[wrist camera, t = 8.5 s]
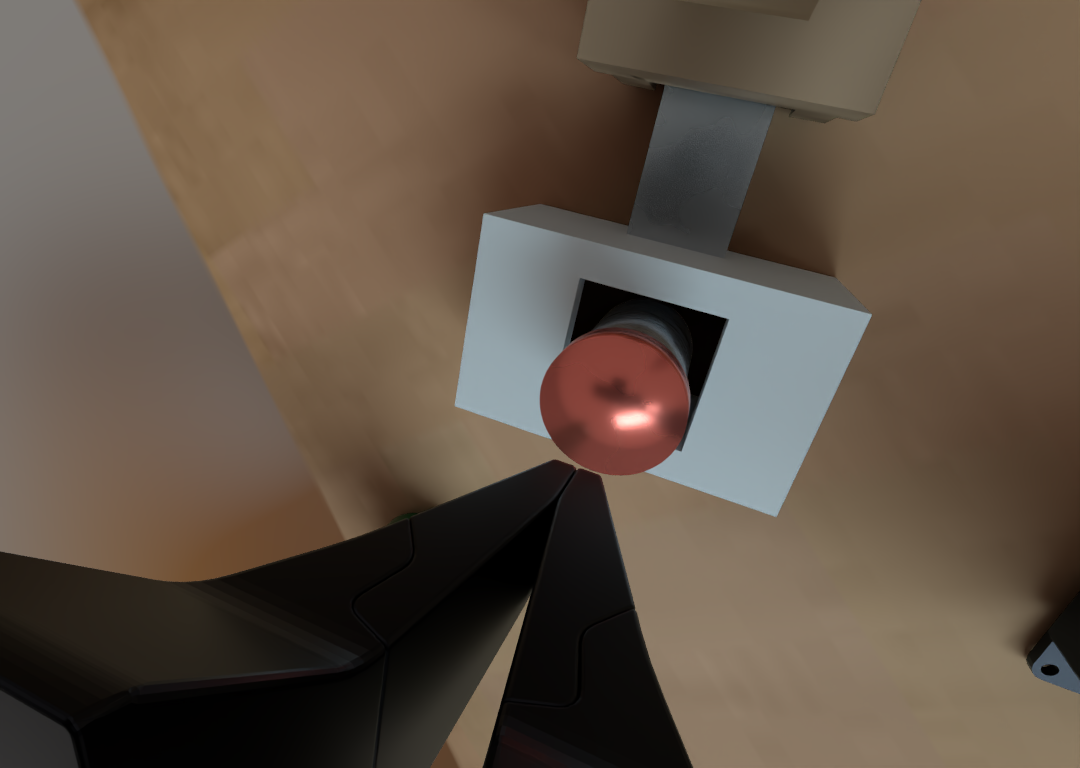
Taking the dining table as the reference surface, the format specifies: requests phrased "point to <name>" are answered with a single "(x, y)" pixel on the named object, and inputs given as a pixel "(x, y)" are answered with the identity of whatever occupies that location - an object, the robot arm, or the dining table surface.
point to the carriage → (754, 49)
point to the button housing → (683, 279)
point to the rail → (698, 169)
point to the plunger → (621, 390)
